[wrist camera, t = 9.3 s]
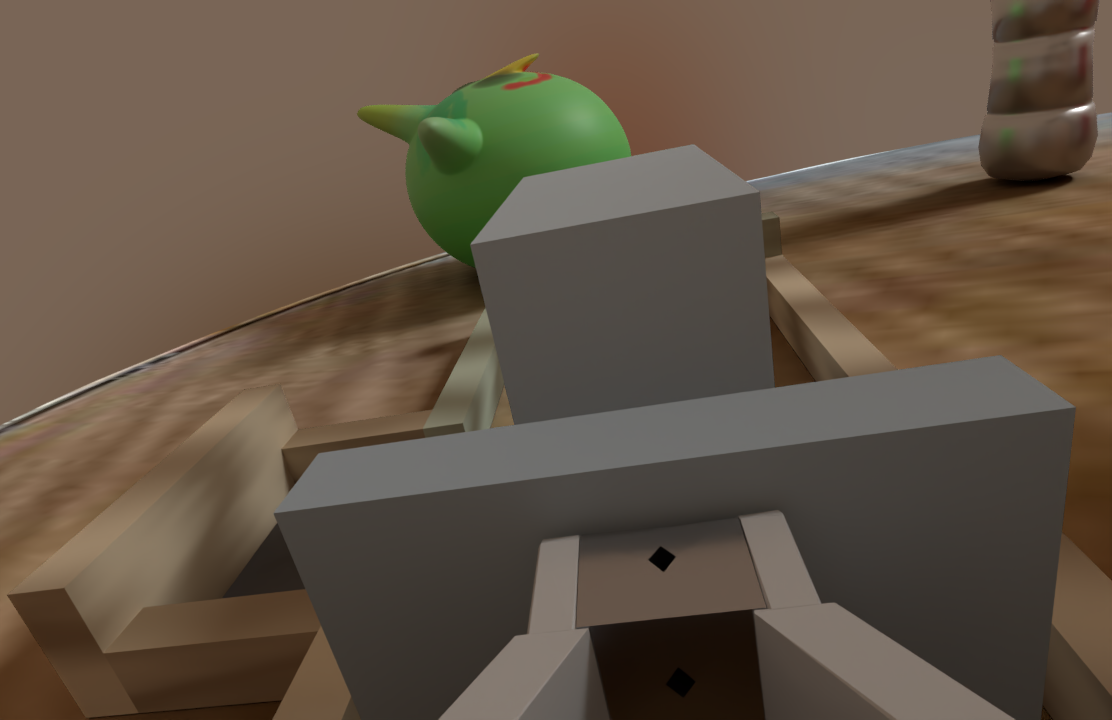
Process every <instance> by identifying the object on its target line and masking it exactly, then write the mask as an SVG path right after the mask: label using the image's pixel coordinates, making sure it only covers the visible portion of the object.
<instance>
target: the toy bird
mask: <svg viewBox="0 0 1112 720" xmlns="http://www.w3.org/2000/svg"><path fill="white" fill-rule="evenodd" d="M538 55H539V54H532V55H529V56H527V57H524V58H522V59H520V60H518V61H516V62H514V63H512V64H510V65H508V66H506V67H504V68H502V69H500V70H498V71H496V72H494V73H493V74H491V75H489V76H487V77H485V78H483V79H481V80H479V81H476V82H471V83H468V84H465V85H464V86H462V87H460V88H458V89H457V90H455V91H454V92H453V93H452V94H451V95H450V96H448V97H447V98H445V99H444V100H443V101H442V102H440V103H439V104H438V105H431V106H430V105H429V106H421V105H371V106H366V107H363V108H361V109H360V110H359V111H358V113H357V115H358V117H359V118H360V119H361V120H363V121H365V122H366V123H368V124H370V125H372V126H374V127H376V128H378V129H380V130H382V131H385V132H387V133H389V134H391V135H393V136H395V137H398V138H400V139H402V140H404V141H405V142H407V143H408V144H409V145H410V146H409V149H408V153H407V159H406V185H407V190H408V195H409V199H410V202H411V205H412V207H413V210H414V212H415V214H416V216H417V218H418V220H419V222H420V223H421V225H422V226H423V228H424V229H425V230H426V232H427V233H428V235H429V236H430V237H431V238H432V239H433V240H434V241H435V242H436V243H437V244H438V245H439V246H440V247H441V248H442V249H443V250H445V251H446V252H447V253H448V254H450V255H451V256H453V257H454V258H456V259H457V260H459V261H461V262H463V263H465V264H467V265H469V266H472V267H475V262H474V258H473V254H472V250H471V246H470V244H471V243H472V242H473V240H474V239H475V238H476V237H477V235H478V234H479V233H480V231H481V230H482V229H483V228H484V226H485V225H486V224H487V223H488V221H489V220H490V219H491V218H492V216H493V215H494V214H495V213H496V211H497V210H498V209H499V208H500V206H501V205H502V204H503V203H504V201H505V200H506V199H507V197H508V196H509V195H510V194H511V192H512V191H513V190H514V189H515V187H516V186H517V185H518V184H519V182H520V181H521V180H522V179H523V177H528V176H533V175H538V174H543V173H549V172H554V171H559V170H564V169H569V168H574V167H579V166H585V165H590V164H595V163H600V162H605V161H610V160H615V159H621V158H626V157H631V152H630V147H629V144H628V141H627V138H626V135H625V133H624V130H623V128H622V127H621V125H620V123H619V121H618V119H617V118H616V117H615V115H614V114H613V112H612V111H611V110H610V109H609V107H608V106H607V105H606V104H605V103H604V102H603V101H602V100H601V99H600V98H599V97H598V96H597V95H595V94H594V93H593V92H592V91H590V90H589V89H587V88H586V87H584V86H582V85H580V84H579V83H576V82H574V81H572V80H570V79H567V78H564V77H561V76H557V75H553V74H548V73H537V72H525V70H526V69H527V68H528V67H529V66H530V64H531V63H533V62H534V61H535V60H536V58H537V57H538ZM475 268H476V267H475Z"/></svg>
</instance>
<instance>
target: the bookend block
mask: <svg viewBox="0 0 1112 720" xmlns="http://www.w3.org/2000/svg"><path fill="white" fill-rule="evenodd" d="M470 246H471V250H472V254H473V258H474V262H475V267H476V271H477V275H478V279H479V283H480V287H481V291H482V295H483V299H484V303H485V307H486V311H487V315H488V319H489V323H490V327H491V331H492V335H493V340H494V344H495V348H496V352H497V356H498V360H499V364H500V368H501V372H502V376H503V380H504V384H505V388H506V392H507V396H508V400H509V404H510V408H511V413H512V417H513V421H514V425H512V426H505V427H498V428H491V429H484V430H477V431H470V432H463V433H456V434H449V435H442V436H435V437H428V438H421V439H414V440H407V441H400V442H394V443H387V444H380V445H373V446H366V447H359V448H352V449H345V450H338V451H331V452H324V453H318V455H317V456H316V457H315V459H314V460H313V461H312V463H311V464H310V465H309V467H308V468H307V469H306V471H305V472H304V473H303V475H302V476H301V477H300V479H299V480H298V481H297V483H296V484H295V485H294V487H293V488H292V489H291V491H290V492H289V493H288V495H287V496H286V497H285V498H284V500H283V501H282V502H281V504H280V505H279V506H278V508H277V509H276V510H275V512H274V513H273V514H274V516H275V518H276V521H277V523H278V525H279V528H280V530H281V533H282V535H283V537H284V540H285V542H286V544H287V547H288V549H289V551H290V554H291V556H292V558H293V561H294V563H295V565H296V568H297V570H298V572H299V575H300V577H301V580H302V582H303V584H304V587H305V589H306V591H307V594H308V596H309V598H310V601H311V603H312V605H313V608H314V610H315V612H316V615H317V617H318V620H319V622H320V624H321V627H322V629H323V631H324V634H325V636H326V638H327V641H328V643H329V645H330V648H331V650H332V652H333V655H334V657H335V659H336V662H337V664H338V667H339V669H340V671H341V674H342V676H343V678H344V681H345V683H346V685H347V688H348V690H349V692H350V695H351V697H352V699H353V702H354V704H355V706H356V709H357V711H358V714H359V716H360V718H361V720H438V719H439V718H440V717H441V716H442V715H443V714H444V713H445V712H446V711H447V709H448V708H449V707H450V706H451V705H452V704H453V703H454V702H455V701H456V700H457V699H458V697H459V696H460V695H461V694H462V693H463V692H464V691H465V690H466V689H467V688H468V686H469V685H470V684H471V683H472V682H473V681H474V680H475V679H476V678H477V677H478V676H479V674H480V673H481V672H482V671H483V670H484V669H485V668H486V667H487V666H488V665H489V664H490V662H491V661H492V660H493V659H494V658H495V657H496V656H497V655H498V654H499V653H500V652H501V650H502V649H503V648H504V647H505V646H506V645H507V644H508V643H509V642H510V641H511V640H512V638H513V637H514V636H517V635H526V634H527V629H528V622H529V615H530V607H531V600H532V592H533V585H534V578H535V570H536V563H537V555H538V548H539V545H540V544H541V542H542V540H543V539H549V538H557V537H566V536H574V535H579V536H581V535H582V534H592V533H602V532H611V531H621V530H631V529H641V528H651V527H666V526H674V525H681V524H689V523H697V522H705V521H713V520H721V519H729V518H737V517H738V516H740V515H747V514H753V513H760V512H766V511H773V510H779V511H780V512H781V513H783V515H784V517H785V519H786V522H787V524H788V526H789V529H790V531H791V533H792V536H793V538H794V540H795V543H796V545H797V548H798V550H799V552H800V555H801V557H802V559H803V562H804V564H805V566H806V569H807V571H808V573H809V576H810V578H811V580H812V583H813V585H814V587H815V590H816V592H817V594H818V597H819V599H820V601H821V604H823V603H837V604H838V605H840V606H841V607H843V608H844V609H846V610H847V611H849V612H850V613H852V614H854V615H855V616H857V617H858V618H860V619H861V620H863V621H864V622H866V623H867V624H869V625H870V626H872V627H874V628H875V629H877V630H878V631H880V632H881V633H883V634H884V635H886V636H887V637H889V638H891V639H892V640H894V641H895V642H897V643H898V644H900V645H901V646H903V647H904V648H906V649H907V650H909V651H911V652H912V653H914V654H915V655H917V656H918V657H920V658H921V659H923V660H924V661H926V662H927V663H929V664H931V665H932V666H934V667H935V668H937V669H938V670H940V671H941V672H943V673H944V674H946V675H947V676H949V677H951V678H952V679H954V680H955V681H957V682H958V683H960V684H961V685H963V686H964V687H966V688H967V689H969V690H971V691H972V692H974V693H975V694H977V695H978V696H980V697H981V698H983V699H984V700H986V701H987V702H989V703H991V704H992V705H994V706H995V707H997V708H998V709H1000V710H1001V711H1003V712H1004V713H1006V714H1007V715H1009V716H1011V717H1012V718H1014V719H1015V720H1041V713H1042V704H1043V695H1044V687H1045V678H1046V669H1047V660H1048V651H1049V642H1050V633H1051V624H1052V615H1053V606H1054V597H1055V589H1056V580H1057V571H1058V562H1059V553H1060V544H1061V535H1062V526H1063V517H1064V508H1065V499H1066V491H1067V482H1068V473H1069V464H1070V455H1071V446H1072V437H1073V428H1074V419H1075V410H1076V407H1075V406H1073V405H1072V404H1071V403H1069V402H1068V401H1066V400H1065V399H1063V398H1062V397H1060V396H1059V395H1058V394H1056V393H1055V392H1053V391H1052V390H1050V389H1049V388H1047V387H1046V386H1045V385H1043V384H1042V383H1040V382H1039V381H1037V380H1036V379H1035V378H1033V377H1032V376H1030V375H1029V374H1027V373H1026V372H1024V371H1023V370H1022V369H1020V368H1019V367H1017V366H1016V365H1014V364H1013V363H1011V362H1010V361H1009V360H1007V359H1006V358H1004V357H1003V356H1001V355H999V356H992V357H985V358H978V359H971V360H964V361H957V362H950V363H943V364H936V365H929V366H922V367H915V368H908V369H901V370H894V371H887V372H880V373H873V374H867V375H860V376H853V377H846V378H839V379H832V380H825V381H818V382H811V383H804V384H797V385H790V386H783V387H776V388H775V382H774V369H773V356H772V343H771V331H770V318H769V305H768V292H767V279H766V266H765V253H764V240H763V227H762V215H761V202H760V192H759V191H758V190H757V189H755V188H754V187H752V186H751V185H750V184H748V183H747V182H745V181H744V180H743V179H741V178H740V177H739V176H737V175H736V174H734V173H732V171H730V170H729V169H727V168H726V167H725V166H723V165H722V164H720V163H719V162H718V161H716V160H715V159H713V158H712V157H711V156H709V155H708V154H706V153H705V152H704V151H702V150H701V149H699V148H698V147H697V146H695V145H694V144H693V145H688V146H682V147H677V148H672V149H667V150H662V151H657V152H651V153H646V154H641V155H636V156H631V157H626V158H621V159H615V160H610V161H605V162H600V163H595V164H590V165H585V166H579V167H574V168H569V169H564V170H559V171H554V172H549V173H543V174H538V175H533V176H528V177H523V179H522V180H521V181H520V182H519V184H518V185H517V186H516V187H515V189H514V190H513V191H512V192H511V194H510V195H509V196H508V197H507V199H506V200H505V201H504V203H503V204H502V205H501V206H500V208H499V209H498V210H497V211H496V213H495V214H494V215H493V216H492V218H491V219H490V220H489V221H488V223H487V224H486V225H485V226H484V228H483V229H482V230H481V231H480V233H479V234H478V235H477V237H476V238H475V239H474V240H473V242H472V243H471V244H470Z"/></svg>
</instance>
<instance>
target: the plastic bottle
mask: <svg viewBox="0 0 1112 720" xmlns="http://www.w3.org/2000/svg"><path fill="white" fill-rule="evenodd" d="M990 2H991V11H992V39H994V47H993V65H992V73H991V81H990V89H989V97H988V105H987V111H988V112H987V115H985V118H984V121H983V125H982V129H981V135H980V141H979V146H978V148H979V155H980V161H981V166H982V167H983V169H984V170H985V171H986V173H987V174H988V175H989V176H990V177H993V178H998V179H1008V180H1018V181H1040V180H1044V179H1048V178H1052V177H1056V176H1060V175H1065V174H1069V173H1073V172H1076V171H1078V170H1080V169H1081V168H1082V167H1083V166H1084V165H1085V164H1086V163H1087V161H1088V160H1089V159H1090V158H1091V157H1092V153H1093V150H1094V147H1095V143H1096V140H1097V137H1098V130H1097V114H1096V109H1095V103H1094V102H1092V97H1093V42H1094V35H1095V30H1094V24H1095V21H1097V15H1098V7H1099V0H990Z"/></svg>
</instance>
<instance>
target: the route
mask: <svg viewBox="0 0 1112 720" xmlns="http://www.w3.org/2000/svg"><path fill="white" fill-rule="evenodd" d="M761 215H762V227H763V240H764V253H765V266H766V279H767V292H768V305H769V315H770V317H771V318H772V319H773V321H774V322H775V324H776V325H777V327H778V328H779V329H780V331H781V332H782V334H783V335H784V337H785V338H786V339H787V341H788V342H789V344H790V345H791V347H792V348H793V349H794V351H795V352H796V354H797V355H798V357H799V358H800V359H801V361H802V362H803V364H804V365H805V367H806V368H807V369H808V371H809V372H810V374H811V375H812V377H813V378H814V379H815V381H816V382H818V381H825V380H832V379H839V378H846V377H853V376H860V375H867V374H873V373H880V372H887V371H894V370H898V369H897V368H896V367H895V366H894V365H893V364H892V363H891V362H890V361H889V360H888V359H887V358H886V357H885V356H884V355H883V354H882V353H881V352H880V351H879V350H878V349H877V348H876V347H875V346H874V345H873V344H872V343H871V342H870V341H869V340H868V339H867V338H866V337H865V336H864V335H863V334H862V333H861V332H860V331H859V330H857V329H856V328H855V327H854V326H853V325H852V324H851V323H850V322H849V321H848V320H847V319H846V318H845V317H844V316H843V315H842V314H841V313H840V312H839V311H838V310H837V309H836V308H835V307H834V306H833V305H832V304H831V303H830V302H829V301H828V300H827V299H826V298H825V297H824V296H823V295H822V294H821V293H820V292H819V291H818V290H817V289H816V288H815V287H814V286H813V285H812V284H811V283H810V282H809V281H808V280H807V279H806V278H805V277H804V276H803V275H802V274H801V273H800V272H799V271H798V270H797V269H796V268H795V267H794V266H793V265H792V264H791V263H790V262H789V261H788V260H787V259H786V258H785V257H784V256H783V255H782V249H781V234H780V219H779V216H777V215H776V214H775V213H774V212H768V213H762V214H761ZM503 386H504V380H503V376H502V372H501V368H500V364H499V360H498V356H497V352H496V348H495V344H494V340H493V335H492V331H491V327H490V323H489V319H488V315H487V311H486V307H485V309H484V311H483V313H482V315H481V317H480V319H479V321H478V323H477V325H476V327H475V328H474V330H473V332H472V334H471V336H470V338H469V340H468V342H467V344H466V346H465V348H464V350H463V352H462V354H461V356H460V358H459V359H458V361H457V363H456V365H455V367H454V369H453V371H452V373H451V375H450V377H449V379H448V381H447V383H446V385H445V387H444V388H443V390H442V392H441V394H440V396H439V398H438V400H437V402H436V404H435V406H434V408H433V410H427V411H420V412H413V413H406V414H400V415H393V416H386V417H379V418H373V419H366V420H359V421H353V422H346V423H339V424H332V425H326V426H319V427H312V428H305V429H299V430H298V428H297V425H296V423H295V420H294V417H293V415H292V412H291V410H290V407H289V404H288V402H287V399H286V397H285V394H284V391H283V389H282V386H281V384H276V385H269V386H263V387H257V388H250V389H244V390H243V391H242V392H241V393H240V394H238V395H237V396H236V397H235V398H234V399H233V400H232V401H230V402H229V403H228V404H227V405H226V406H225V407H223V408H222V409H221V410H220V411H219V412H218V413H217V414H215V415H214V416H213V417H212V418H211V419H210V420H208V421H207V422H206V423H205V424H204V425H203V426H201V427H200V428H199V429H198V430H197V431H196V432H195V433H193V434H192V435H191V436H190V437H189V438H188V439H186V440H185V441H184V442H183V443H182V444H181V445H180V446H178V447H177V448H176V449H175V450H174V451H173V452H171V453H170V454H169V455H168V456H167V457H166V458H164V459H163V460H162V461H161V462H160V463H159V464H158V465H156V466H155V467H154V468H153V469H152V470H151V471H149V472H148V473H147V474H146V475H145V476H144V477H143V478H141V479H140V480H139V481H138V482H137V483H136V484H134V485H133V486H132V487H131V488H130V489H129V490H128V491H126V492H125V493H124V494H123V495H122V496H121V497H119V498H118V499H117V500H116V501H115V502H114V503H112V504H111V505H110V506H109V507H108V508H107V509H106V510H104V511H103V512H102V513H101V514H100V515H99V516H97V517H96V518H95V519H94V520H93V521H92V522H91V523H89V524H88V525H87V526H86V527H85V528H84V529H82V530H81V531H80V532H79V533H78V534H77V535H75V536H74V537H73V538H72V539H71V540H70V541H69V542H67V543H66V544H65V545H64V546H63V547H62V548H60V549H59V550H58V551H57V552H56V553H55V554H54V555H52V556H51V557H50V558H49V559H48V560H47V561H45V562H44V563H43V564H42V565H41V566H40V567H39V568H37V569H36V570H35V571H34V572H33V573H32V574H30V575H29V576H28V577H27V578H26V579H25V580H23V581H22V582H21V583H20V584H19V585H18V586H17V587H15V588H14V589H13V590H12V591H11V592H10V593H8V594H7V596H8V597H9V599H10V600H11V602H12V603H13V605H14V607H15V608H16V610H17V611H18V613H19V614H20V616H21V618H22V619H23V621H24V622H25V624H26V625H27V627H28V628H29V630H30V632H31V633H32V635H33V636H34V638H35V639H36V641H37V642H38V644H39V646H40V647H41V649H42V650H43V652H44V653H45V655H46V657H47V658H48V660H49V661H50V663H51V664H52V666H53V667H54V669H55V671H56V672H57V674H58V675H59V677H60V678H61V680H62V681H63V683H64V685H65V686H66V688H67V689H68V691H69V692H70V694H71V696H72V697H73V699H74V700H75V702H76V703H77V705H78V706H79V708H80V710H81V711H82V713H83V714H84V716H85V717H86V718H90V717H101V716H112V715H124V714H135V713H146V712H157V711H168V710H179V709H191V708H202V707H213V706H224V705H235V704H246V703H257V702H269V701H280V700H282V702H281V704H280V706H279V708H278V710H277V712H276V714H275V715H274V717H273V719H272V720H361V718H360V716H359V714H358V711H357V709H356V706H355V704H354V702H353V699H352V697H351V695H350V692H349V690H348V688H347V685H346V683H345V681H344V678H343V676H342V674H341V671H340V669H339V667H338V664H337V662H336V659H335V657H334V655H333V652H332V650H331V648H330V645H329V643H328V641H327V638H326V636H325V634H324V631H323V629H322V627H321V624H320V622H319V620H318V617H317V615H316V612H315V610H314V608H313V605H312V603H311V601H310V598H309V596H308V594H307V591H306V589H305V587H304V584H303V582H302V580H301V577H300V575H299V572H298V570H297V568H296V565H295V563H294V561H293V558H292V556H291V554H290V551H289V549H288V547H287V544H286V542H285V540H284V537H283V535H282V533H281V530H280V528H279V525H278V523H277V521H276V518H275V516H274V514H273V513H274V512H275V510H276V509H277V508H278V506H279V505H280V504H281V502H282V501H283V500H284V498H285V497H286V496H287V495H288V493H289V492H290V491H291V489H292V488H293V487H294V485H295V484H296V483H297V481H298V480H299V479H300V477H301V476H302V475H303V473H304V472H305V471H306V469H307V468H308V467H309V465H310V464H311V463H312V461H313V460H314V459H315V457H316V456H317V455H318V453H324V452H331V451H338V450H345V449H352V448H359V447H366V446H373V445H380V444H387V443H394V442H400V441H407V440H414V439H421V438H428V437H435V436H442V435H449V434H456V433H463V432H470V431H477V430H484V429H490V426H491V423H492V420H493V417H494V414H495V411H496V408H497V405H498V402H499V399H500V396H501V393H502V390H503ZM1042 705H1043V706H1044V708H1045V709H1046V710H1047V712H1048V713H1049V715H1050V716H1051V718H1052V719H1053V720H1112V581H1111V580H1110V579H1109V578H1108V577H1107V576H1106V575H1105V574H1104V573H1103V572H1102V571H1101V570H1100V569H1099V568H1098V567H1097V566H1096V565H1095V564H1094V563H1093V562H1092V561H1091V560H1090V559H1089V558H1088V557H1087V556H1086V555H1085V554H1084V553H1083V552H1082V551H1081V550H1080V549H1079V548H1078V547H1077V546H1076V545H1075V544H1074V543H1073V542H1072V541H1071V540H1070V539H1069V538H1068V537H1067V536H1066V535H1065V534H1064V533H1063V532H1062V535H1061V544H1060V553H1059V562H1058V571H1057V580H1056V589H1055V597H1054V606H1053V615H1052V624H1051V633H1050V642H1049V651H1048V660H1047V669H1046V678H1045V687H1044V695H1043V704H1042Z"/></svg>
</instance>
